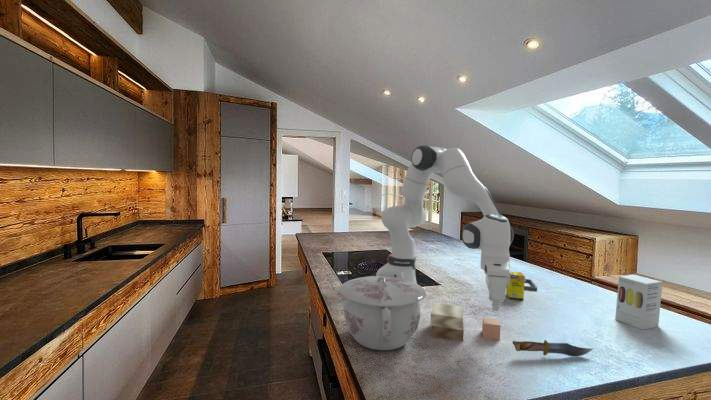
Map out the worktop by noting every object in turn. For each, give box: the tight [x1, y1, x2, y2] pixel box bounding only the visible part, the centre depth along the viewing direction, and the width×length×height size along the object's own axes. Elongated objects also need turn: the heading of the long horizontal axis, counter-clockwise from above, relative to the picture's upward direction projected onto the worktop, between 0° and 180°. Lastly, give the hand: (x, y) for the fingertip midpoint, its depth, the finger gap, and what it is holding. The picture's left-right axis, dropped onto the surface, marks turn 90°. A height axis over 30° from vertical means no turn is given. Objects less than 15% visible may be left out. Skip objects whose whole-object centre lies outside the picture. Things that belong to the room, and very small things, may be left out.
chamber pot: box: [339, 275, 427, 351], centre depth 106 cm, size 28×28×21 cm
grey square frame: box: [506, 278, 538, 291], centre depth 164 cm, size 14×14×2 cm
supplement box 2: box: [614, 274, 663, 331], centre depth 122 cm, size 10×9×17 cm
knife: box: [511, 339, 593, 358], centre depth 98 cm, size 25×1×5 cm, turn 92°
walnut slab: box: [431, 321, 465, 342], centre depth 112 cm, size 10×10×4 cm
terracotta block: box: [481, 316, 501, 341], centre depth 111 cm, size 5×5×5 cm
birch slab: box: [430, 302, 464, 330], centre depth 112 cm, size 10×10×4 cm
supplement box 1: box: [505, 270, 526, 301], centre depth 146 cm, size 6×6×11 cm
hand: (493, 305), depth 110 cm, fingers open, 8 cm apart
